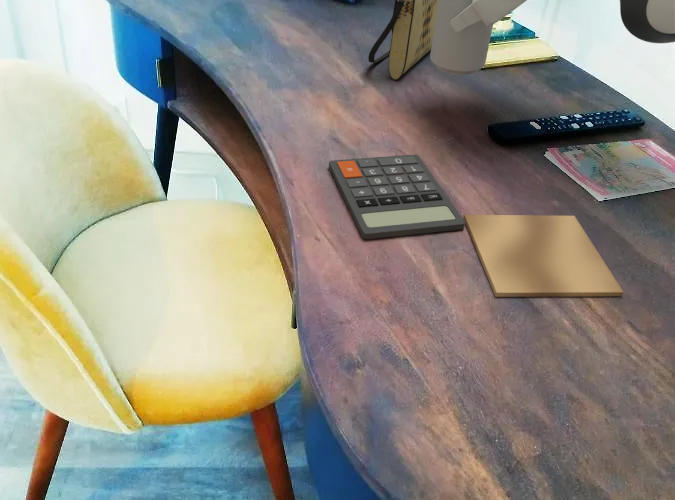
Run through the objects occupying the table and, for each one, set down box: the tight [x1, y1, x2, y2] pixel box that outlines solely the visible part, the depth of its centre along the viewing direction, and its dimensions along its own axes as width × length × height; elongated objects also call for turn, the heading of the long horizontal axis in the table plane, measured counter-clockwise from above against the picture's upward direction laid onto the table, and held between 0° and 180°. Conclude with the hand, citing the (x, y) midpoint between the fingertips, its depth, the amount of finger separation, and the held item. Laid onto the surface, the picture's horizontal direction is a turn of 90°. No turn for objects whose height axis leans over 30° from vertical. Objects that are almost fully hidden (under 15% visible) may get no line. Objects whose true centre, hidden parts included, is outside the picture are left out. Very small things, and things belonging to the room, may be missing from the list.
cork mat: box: [462, 214, 625, 298], centre depth 68 cm, size 13×13×1 cm
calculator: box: [328, 154, 466, 240], centre depth 75 cm, size 12×1×15 cm
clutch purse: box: [367, 0, 438, 81], centre depth 106 cm, size 30×7×15 cm, turn 153°
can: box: [429, 0, 494, 76], centre depth 85 cm, size 8×8×12 cm
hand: (459, 15), depth 85 cm, fingers closed on can, 7 cm apart
